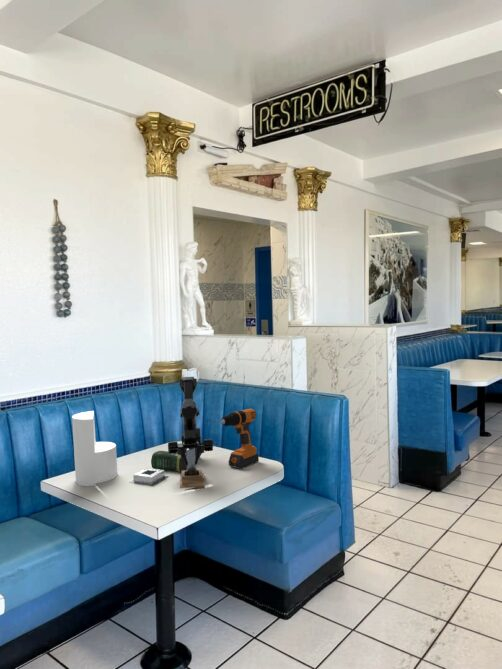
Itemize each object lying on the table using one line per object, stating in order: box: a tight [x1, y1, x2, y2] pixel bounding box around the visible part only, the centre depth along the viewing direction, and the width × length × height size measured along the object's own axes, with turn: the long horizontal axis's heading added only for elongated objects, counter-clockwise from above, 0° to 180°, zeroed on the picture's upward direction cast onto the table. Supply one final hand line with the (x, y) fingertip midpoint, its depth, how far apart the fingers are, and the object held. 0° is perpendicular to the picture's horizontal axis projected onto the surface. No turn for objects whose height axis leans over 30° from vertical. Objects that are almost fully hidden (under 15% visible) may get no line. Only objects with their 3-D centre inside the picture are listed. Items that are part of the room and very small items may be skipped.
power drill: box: [220, 408, 260, 469], centre depth 232 cm, size 22×7×25 cm, turn 140°
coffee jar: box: [150, 450, 187, 473], centre depth 230 cm, size 10×8×19 cm
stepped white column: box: [71, 410, 118, 487], centre depth 222 cm, size 17×17×28 cm
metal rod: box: [186, 447, 197, 476], centre depth 213 cm, size 4×4×12 cm
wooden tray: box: [179, 468, 206, 491], centre depth 214 cm, size 16×10×4 cm, turn 7°
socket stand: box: [128, 467, 170, 487], centre depth 216 cm, size 12×12×4 cm
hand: (191, 464), depth 212 cm, fingers closed on metal rod, 4 cm apart
